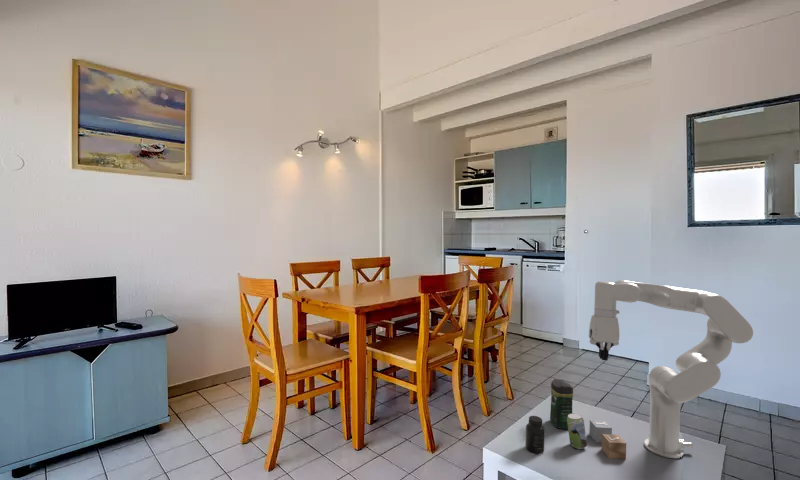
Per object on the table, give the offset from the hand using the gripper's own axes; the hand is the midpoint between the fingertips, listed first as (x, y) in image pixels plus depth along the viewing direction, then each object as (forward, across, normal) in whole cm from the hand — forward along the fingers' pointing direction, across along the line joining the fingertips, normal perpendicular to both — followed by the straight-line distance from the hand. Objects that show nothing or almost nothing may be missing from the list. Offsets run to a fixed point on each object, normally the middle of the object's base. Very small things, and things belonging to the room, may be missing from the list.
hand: (603, 359), depth 152 cm
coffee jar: (+33, +11, -13) cm, 37 cm away
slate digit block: (+33, -1, -3) cm, 33 cm away
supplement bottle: (+33, +28, +8) cm, 44 cm away
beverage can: (+33, +11, +4) cm, 35 cm away
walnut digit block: (+33, -1, +8) cm, 34 cm away
